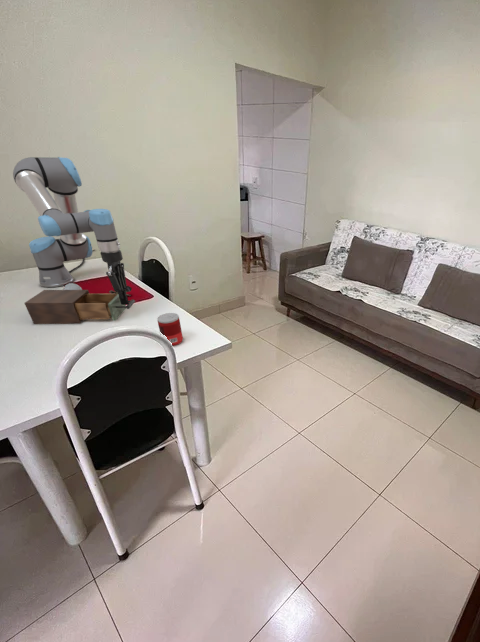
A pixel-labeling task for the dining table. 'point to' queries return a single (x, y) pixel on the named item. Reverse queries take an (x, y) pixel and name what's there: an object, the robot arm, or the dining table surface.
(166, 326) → the canned food
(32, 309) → the cabinet
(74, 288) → the ceramic mug
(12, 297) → the dining table surface
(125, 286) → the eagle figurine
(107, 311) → the drawer
